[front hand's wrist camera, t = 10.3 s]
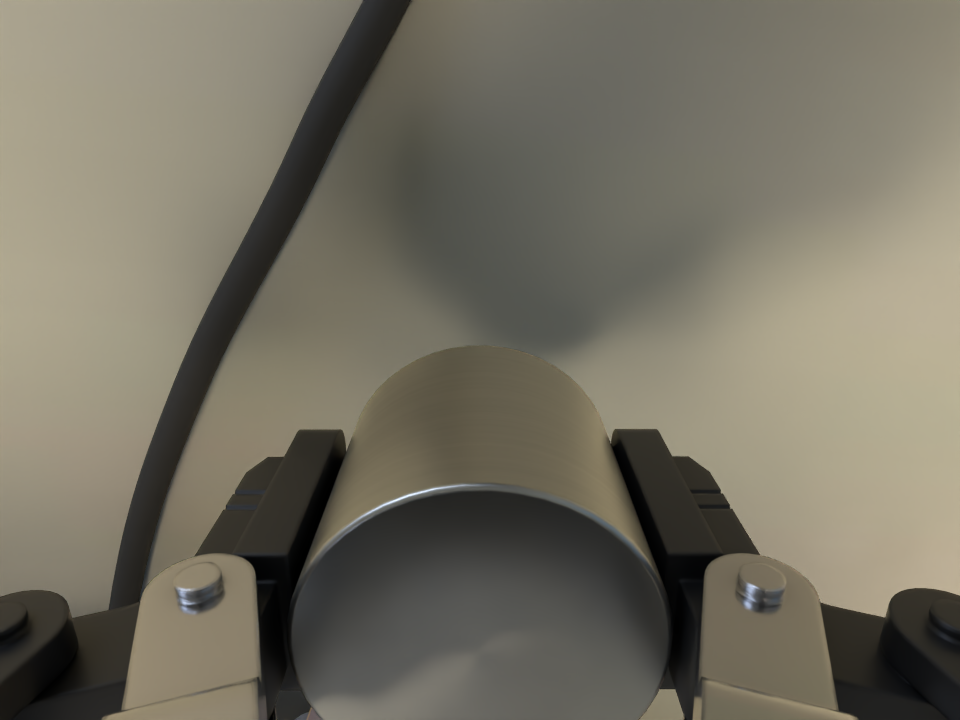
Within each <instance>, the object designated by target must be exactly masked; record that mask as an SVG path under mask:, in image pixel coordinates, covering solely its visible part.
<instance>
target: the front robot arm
mask: <svg viewBox="0 0 960 720" xmlns="http://www.w3.org/2000/svg"><path fill="white" fill-rule="evenodd" d="M410 1H411V0H363V2H362V4H361V6H360V8H359V10H358V12H357V13H356V15H355V17H354V19H353V21H352V23H351V25H350V27H349V28H348V30H347V32H346V34H345V36H344V38H343V40H342V42H341V43H340V45H339V47H338V49H337V51H336V53H335V55H334V56H333V58H332V60H331V62H330V64H329V66H328V68H327V70H326V72H325V74H324V75H323V77H322V79H321V81H320V83H319V85H318V87H317V89H316V91H315V93H314V95H313V97H312V99H311V101H310V103H309V105H308V107H307V109H306V111H305V113H304V116H303V118H302V120H301V122H300V124H299V126H298V129H297V131H296V133H295V135H294V137H293V139H292V142H291V144H290V146H289V148H288V150H287V152H286V155H285V157H284V159H283V161H282V163H281V166H280V168H279V170H278V172H277V174H276V176H275V178H274V180H273V182H272V184H271V186H270V188H269V190H268V192H267V194H266V196H265V198H264V200H263V202H262V204H261V206H260V208H259V210H258V212H257V214H256V216H255V218H254V220H253V222H252V224H251V226H250V228H249V230H248V232H247V234H246V235H245V237H244V239H243V241H242V243H241V245H240V247H239V249H238V251H237V252H236V254H235V256H234V258H233V260H232V262H231V264H230V266H229V267H228V269H227V271H226V273H225V275H224V277H223V279H222V281H221V283H220V285H219V286H218V288H217V290H216V292H215V294H214V296H213V298H212V300H211V302H210V304H209V306H208V308H207V310H206V312H205V314H204V316H203V318H202V320H201V322H200V324H199V326H198V328H197V331H196V333H195V335H194V337H193V339H192V341H191V343H190V346H189V348H188V350H187V352H186V355H185V357H184V359H183V361H182V364H181V366H180V369H179V371H178V374H177V376H176V378H175V381H174V383H173V386H172V388H171V391H170V394H169V396H168V399H167V401H166V404H165V406H164V409H163V411H162V414H161V417H160V419H159V422H158V424H157V427H156V430H155V432H154V435H153V438H152V441H151V443H150V446H149V449H148V452H147V454H146V457H145V460H144V463H143V466H142V469H141V472H140V475H139V478H138V481H137V484H136V488H135V491H134V494H133V498H132V501H131V505H130V508H129V512H128V516H127V520H126V524H125V528H124V532H123V536H122V541H121V545H120V550H119V554H118V559H117V565H116V570H115V575H114V580H113V586H112V592H111V598H110V604H109V610H108V611H103V612H99V613H94V614H89V615H85V616H80V617H76V618H72V617H71V614H70V610H69V606H68V604H67V601H66V600H65V599H64V598H63V597H62V596H60V595H59V594H57V593H54V592H51V591H44V590H30V591H22V592H17V593H12V594H8V595H5V596H1V597H0V720H277V715H276V709H275V703H276V700H277V697H278V694H279V691H280V690H301V689H300V687H299V685H298V683H297V680H296V677H295V674H294V671H293V668H292V665H291V661H290V655H289V649H288V643H287V619H288V614H289V608H290V603H291V599H292V596H293V593H294V590H295V588H296V585H297V582H298V579H299V577H300V574H301V571H302V569H303V566H304V564H305V561H306V558H307V556H308V553H309V550H310V548H311V545H312V542H313V540H314V537H315V534H316V532H317V529H318V526H319V524H320V521H321V518H322V516H323V513H324V510H325V508H326V505H327V502H328V500H329V497H330V494H331V492H332V489H333V486H334V484H335V481H336V478H337V476H338V473H339V470H340V468H341V465H342V462H343V460H344V457H345V454H346V443H345V437H344V433H343V431H342V430H299V431H298V432H297V434H296V436H295V438H294V440H293V441H292V443H291V445H290V447H289V449H288V451H287V452H286V454H285V456H284V457H267V458H266V459H265V460H263V461H262V462H261V463H259V464H258V465H256V466H255V467H254V468H252V469H251V470H249V471H248V472H247V473H246V474H245V476H244V477H243V479H242V481H241V482H240V484H239V485H238V487H237V489H236V490H235V494H233V495H232V497H231V498H230V500H229V502H228V503H227V505H226V510H223V511H222V513H221V515H220V516H219V518H218V519H217V521H216V523H215V524H214V526H213V528H212V529H211V531H210V532H209V534H208V536H207V537H206V539H205V540H204V542H203V544H202V545H201V547H200V549H199V550H198V552H197V553H196V555H195V557H191V558H188V559H185V560H183V561H180V562H178V563H176V564H174V565H172V566H170V567H168V568H167V569H165V570H164V571H162V572H161V573H159V574H158V575H157V576H156V577H155V578H154V579H152V580H151V582H150V583H149V584H148V585H147V586H146V588H145V590H144V592H143V594H142V597H141V601H140V602H139V598H140V593H141V588H142V583H143V578H144V574H145V569H146V565H147V560H148V556H149V552H150V548H151V544H152V540H153V536H154V532H155V529H156V525H157V522H158V518H159V515H160V512H161V508H162V505H163V502H164V499H165V496H166V493H167V490H168V487H169V484H170V481H171V479H172V476H173V473H174V470H175V468H176V465H177V462H178V460H179V457H180V455H181V452H182V450H183V447H184V445H185V442H186V440H187V437H188V435H189V432H190V430H191V427H192V425H193V422H194V420H195V418H196V415H197V413H198V410H199V408H200V406H201V403H202V401H203V399H204V396H205V394H206V392H207V389H208V387H209V385H210V382H211V380H212V378H213V376H214V373H215V371H216V369H217V367H218V365H219V363H220V361H221V358H222V356H223V354H224V352H225V350H226V348H227V346H228V344H229V342H230V340H231V338H232V336H233V334H234V332H235V331H236V329H237V327H238V325H239V323H240V321H241V319H242V317H243V315H244V314H245V312H246V310H247V308H248V306H249V304H250V303H251V301H252V299H253V297H254V295H255V294H256V292H257V290H258V288H259V286H260V285H261V283H262V281H263V279H264V277H265V276H266V274H267V272H268V270H269V268H270V267H271V265H272V263H273V261H274V259H275V258H276V256H277V254H278V252H279V250H280V249H281V247H282V245H283V243H284V241H285V239H286V238H287V236H288V234H289V232H290V230H291V228H292V227H293V225H294V223H295V221H296V219H297V217H298V215H299V213H300V211H301V210H302V208H303V206H304V204H305V202H306V200H307V198H308V196H309V194H310V192H311V190H312V188H313V186H314V184H315V182H316V180H317V178H318V176H319V174H320V172H321V170H322V167H323V165H324V163H325V161H326V159H327V157H328V155H329V153H330V151H331V149H332V147H333V145H334V143H335V141H336V139H337V137H338V135H339V133H340V131H341V129H342V127H343V125H344V123H345V121H346V119H347V117H348V115H349V113H350V111H351V109H352V108H353V106H354V104H355V102H356V100H357V98H358V96H359V94H360V93H361V91H362V89H363V87H364V85H365V83H366V82H367V80H368V78H369V76H370V74H371V72H372V71H373V69H374V67H375V65H376V63H377V62H378V60H379V58H380V56H381V54H382V53H383V51H384V49H385V47H386V45H387V43H388V42H389V40H390V38H391V36H392V34H393V32H394V31H395V29H396V27H397V25H398V23H399V21H400V19H401V18H402V16H403V14H404V12H405V10H406V8H407V6H408V4H409V2H410ZM611 446H612V449H613V451H614V454H615V457H616V459H617V462H618V465H619V467H620V470H621V473H622V475H623V478H624V481H625V483H626V486H627V489H628V491H629V494H630V497H631V499H632V502H633V505H634V507H635V510H636V513H637V515H638V518H639V521H640V523H641V526H642V529H643V531H644V534H645V537H646V539H647V542H648V545H649V547H650V550H651V553H652V555H653V558H654V561H655V563H656V566H657V569H658V571H659V574H660V577H661V579H662V582H663V585H664V587H665V590H666V593H667V596H668V600H669V604H670V609H671V613H672V625H673V640H672V649H671V656H670V660H669V664H668V668H667V671H666V675H665V678H664V680H663V682H662V684H661V686H660V689H676V692H677V696H678V699H679V702H680V705H681V708H682V711H683V713H684V715H683V720H960V596H959V595H956V594H953V593H949V592H946V591H941V590H936V589H927V588H914V589H907V590H904V591H901V592H899V593H897V594H895V595H894V596H893V597H892V599H891V600H890V603H889V606H888V610H887V613H886V617H885V618H884V617H879V616H875V615H870V614H866V613H861V612H857V611H852V610H847V609H843V608H838V607H834V606H830V605H827V604H823V603H820V601H819V597H818V594H817V592H816V590H815V588H814V586H813V585H812V584H811V583H810V582H809V580H808V579H806V578H805V577H804V576H803V575H802V574H801V573H799V572H798V571H796V570H795V569H793V568H792V567H790V566H788V565H786V564H784V563H782V562H780V561H777V560H775V559H772V558H769V557H765V556H761V555H760V554H759V552H758V551H757V549H756V547H755V546H754V544H753V542H752V541H751V539H750V537H749V536H748V534H747V533H746V531H745V529H744V528H743V526H742V524H741V523H740V521H739V519H738V518H737V516H736V514H735V513H734V511H733V510H732V509H730V505H729V503H728V501H727V500H726V498H725V496H724V495H723V494H721V490H720V488H719V487H718V485H717V483H716V482H715V480H714V478H713V477H712V475H711V473H710V472H709V471H708V470H706V469H705V468H703V467H702V466H701V465H699V464H698V463H697V462H695V461H694V460H692V459H691V458H690V457H678V456H671V454H670V452H669V450H668V448H667V446H666V444H665V442H664V440H663V439H662V437H661V435H660V433H659V431H658V430H657V429H615V430H614V431H613V434H612V439H611Z"/></svg>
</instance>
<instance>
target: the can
mask: <svg viewBox="0 0 960 720" xmlns="http://www.w3.org/2000/svg"><path fill="white" fill-rule="evenodd" d="M672 640H673V625H672V613H671V609H670V604H669V600H668V596H667V593H666V590H665V587H664V585H663V582H662V579H661V577H660V574H659V571H658V569H657V566H656V563H655V561H654V558H653V555H652V553H651V550H650V547H649V545H648V542H647V539H646V537H645V534H644V531H643V529H642V526H641V523H640V521H639V518H638V515H637V513H636V510H635V507H634V505H633V502H632V499H631V497H630V494H629V491H628V489H627V486H626V483H625V481H624V478H623V475H622V473H621V470H620V467H619V465H618V462H617V459H616V457H615V454H614V451H613V449H612V446H611V443H610V441H609V438H608V435H607V433H606V430H605V427H604V425H603V422H602V420H601V417H600V415H599V413H598V411H597V409H596V408H595V406H594V404H593V403H592V401H591V400H590V398H589V397H588V396H587V395H586V393H585V392H584V391H583V390H582V388H581V387H580V386H579V385H578V384H577V383H576V382H574V381H573V380H572V379H571V378H570V377H569V376H568V375H567V374H565V373H564V372H562V371H561V370H559V369H558V368H557V367H555V366H554V365H552V364H550V363H548V362H546V361H544V360H542V359H540V358H538V357H536V356H533V355H530V354H527V353H525V352H522V351H518V350H513V349H509V348H505V347H496V346H464V347H457V348H450V349H446V350H443V351H439V352H435V353H432V354H430V355H427V356H425V357H422V358H420V359H417V360H416V361H414V362H412V363H410V364H409V365H407V366H405V367H403V368H402V369H400V370H399V371H398V372H396V373H395V374H394V375H392V376H391V377H390V378H389V379H387V380H386V381H385V382H384V383H383V384H382V386H381V387H380V388H379V389H378V390H377V391H376V392H375V393H374V395H373V396H372V397H371V399H370V400H369V401H368V403H367V404H366V406H365V408H364V410H363V412H362V413H361V415H360V417H359V420H358V422H357V425H356V428H355V430H354V433H353V436H352V438H351V441H350V444H349V446H348V449H347V452H346V454H345V457H344V460H343V462H342V465H341V468H340V470H339V473H338V476H337V478H336V481H335V484H334V486H333V489H332V492H331V494H330V497H329V500H328V502H327V505H326V508H325V510H324V513H323V516H322V518H321V521H320V524H319V526H318V529H317V532H316V534H315V537H314V540H313V542H312V545H311V548H310V550H309V553H308V556H307V558H306V561H305V564H304V566H303V569H302V571H301V574H300V577H299V579H298V582H297V585H296V588H295V590H294V593H293V596H292V599H291V603H290V608H289V614H288V619H287V643H288V649H289V655H290V661H291V665H292V668H293V671H294V674H295V677H296V680H297V683H298V685H299V687H300V689H301V691H302V693H303V695H304V697H305V699H306V700H307V702H308V703H309V704H310V706H311V707H312V709H313V710H314V711H315V713H316V714H317V716H318V717H319V718H320V719H321V720H639V719H640V718H641V716H642V715H643V714H644V713H645V712H646V710H647V709H648V707H649V706H650V704H651V703H652V701H653V700H654V698H655V697H656V695H657V693H658V691H659V689H660V686H661V684H662V682H663V680H664V678H665V675H666V671H667V668H668V664H669V660H670V656H671V649H672Z"/></svg>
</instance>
